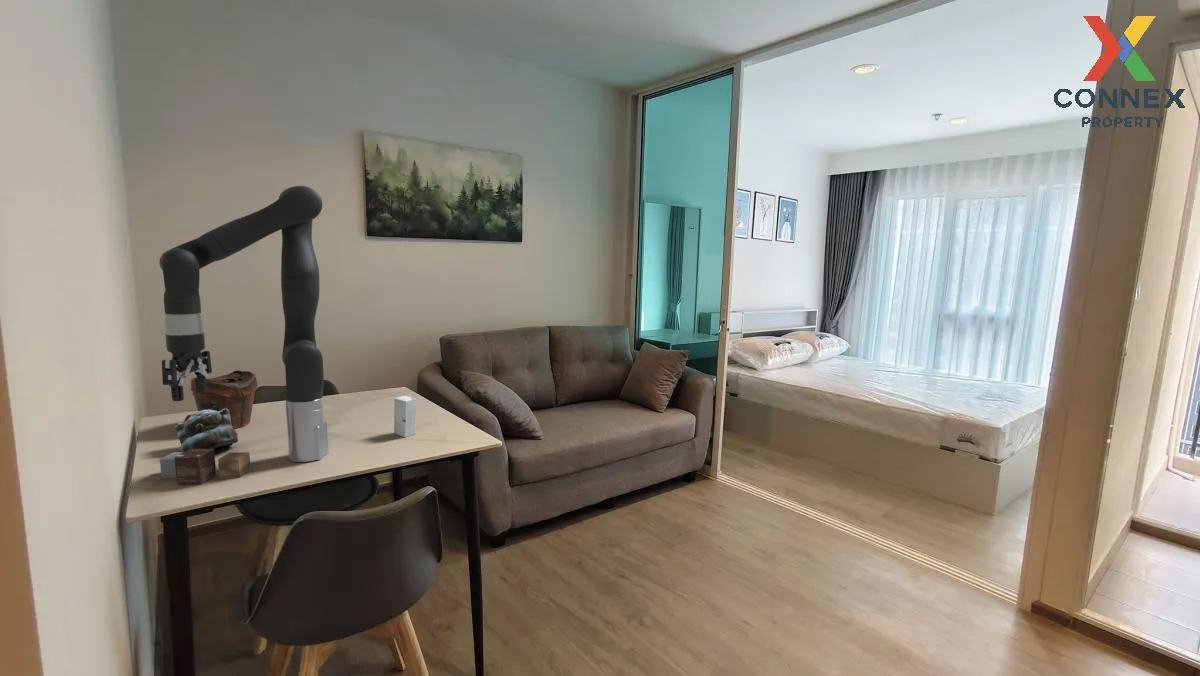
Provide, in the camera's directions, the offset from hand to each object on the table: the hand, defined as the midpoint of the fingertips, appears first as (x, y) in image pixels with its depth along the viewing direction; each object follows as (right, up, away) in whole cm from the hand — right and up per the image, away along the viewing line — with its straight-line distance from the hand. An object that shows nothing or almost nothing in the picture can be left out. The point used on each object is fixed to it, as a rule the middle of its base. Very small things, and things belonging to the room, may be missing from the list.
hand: (190, 396), depth 134 cm
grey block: (-8, -21, +7) cm, 23 cm away
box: (-1, -22, +3) cm, 22 cm away
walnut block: (+6, -21, +8) cm, 23 cm away
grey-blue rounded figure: (-13, -19, +23) cm, 32 cm away
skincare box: (+38, -17, +42) cm, 60 cm away
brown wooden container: (-22, -15, +46) cm, 53 cm away
